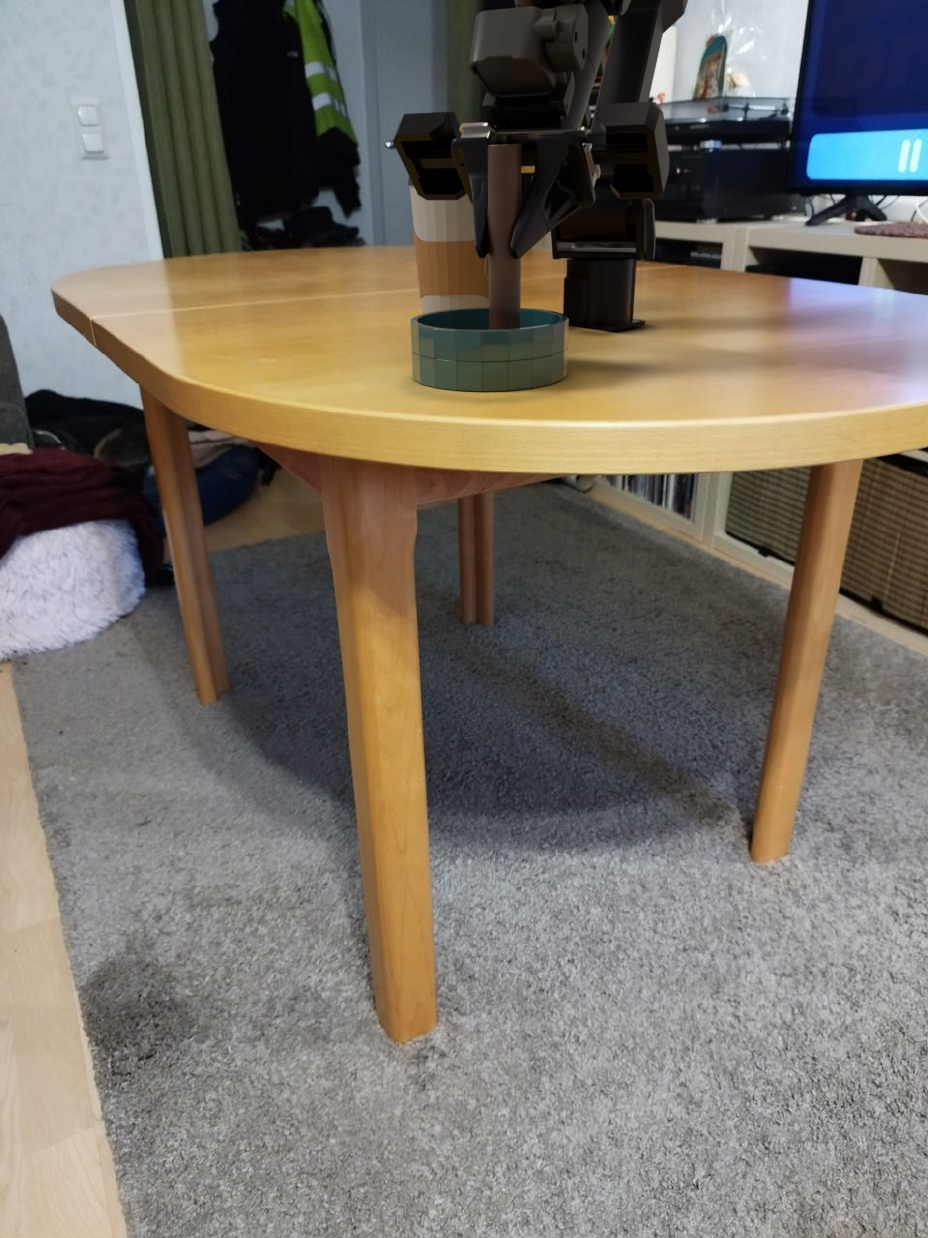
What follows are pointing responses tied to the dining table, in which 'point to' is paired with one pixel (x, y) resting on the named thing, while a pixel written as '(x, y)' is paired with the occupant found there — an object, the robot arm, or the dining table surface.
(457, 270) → the coffee cup
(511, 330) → the bowl
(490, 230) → the stick
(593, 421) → the dining table surface
